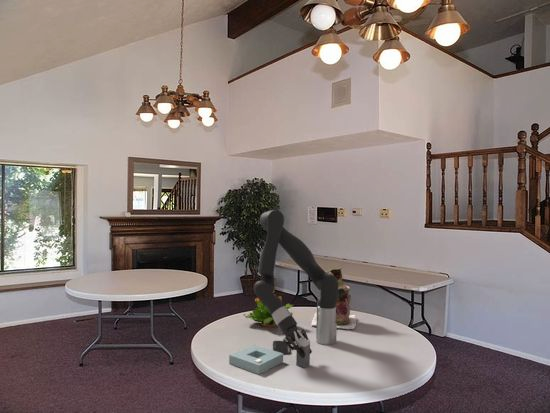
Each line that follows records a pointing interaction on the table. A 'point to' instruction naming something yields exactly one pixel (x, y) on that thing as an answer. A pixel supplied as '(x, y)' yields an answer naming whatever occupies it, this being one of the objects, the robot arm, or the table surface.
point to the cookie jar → (341, 304)
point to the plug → (306, 348)
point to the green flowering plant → (264, 314)
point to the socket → (256, 359)
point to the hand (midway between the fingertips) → (307, 354)
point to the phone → (281, 347)
